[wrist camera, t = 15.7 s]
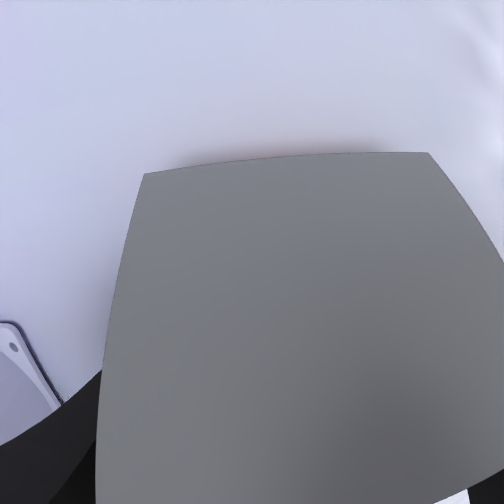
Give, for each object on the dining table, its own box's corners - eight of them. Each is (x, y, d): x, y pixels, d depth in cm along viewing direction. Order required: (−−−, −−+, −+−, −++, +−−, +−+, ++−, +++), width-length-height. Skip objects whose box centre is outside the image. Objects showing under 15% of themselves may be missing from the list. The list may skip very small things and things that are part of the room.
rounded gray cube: (374, 301, 11) (416, 469, 7) (200, 321, 11) (206, 503, 7) (428, 152, 6) (565, 425, 2) (144, 174, 6) (96, 528, 2)
